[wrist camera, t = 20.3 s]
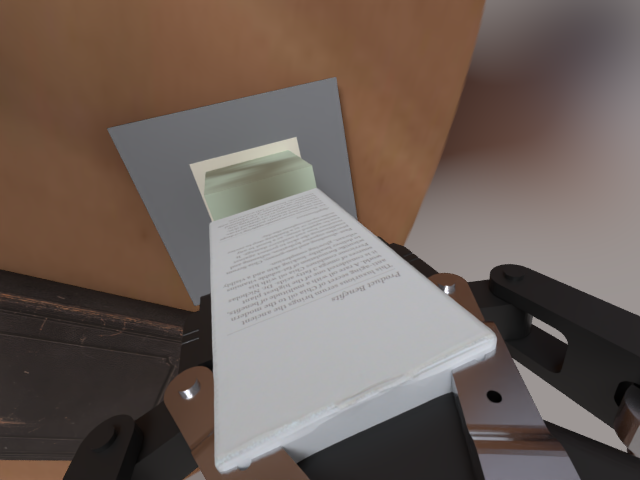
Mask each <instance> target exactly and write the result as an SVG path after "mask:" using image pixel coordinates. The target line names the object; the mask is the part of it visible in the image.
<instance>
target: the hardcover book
mask: <svg viewBox="0 0 640 480" xmlns="http://www.w3.org/2000/svg"><path fill="white" fill-rule="evenodd" d="M191 313H194V312H190V311H186V310H181V309H177V308H172V307H168V306H163V305H159V304H154V303H150V302H145V301H141V300H136V299H132V298H127V297H122V296H118V295H113V294H109V293H104V292H100V291H95V290H91V289H86V288H82V287H77V286H73V285H68V284H64V283H59V282H55V281H50V280H46V279H41V278H36V277H32V276H27V275H23V274H18V273H14V272H9V271H5V270H0V460H65V461H72V460H73V458H74V456H75V454H76V452H77V450H78V448H79V446H80V444H81V443H82V441H83V440H84V439H85V437H86V436H87V435H88V434H89V433H90V432H91V431H92V430H93V429H94V428H95V427H97V426H98V425H99V424H101V423H102V422H104V421H105V420H107V419H109V418H111V417H113V416H116V415H121V414H125V415H129V416H131V417H132V418H133V419H134V421H135V420H137V419H138V418H139V417H141V416H142V415H144V414H145V413H147V412H148V411H150V410H151V409H153V408H154V407H156V406H157V405H159V404H160V403H161V402H162V401H163V400H164V394H165V391H166V389H167V387H168V385H169V384H170V382H171V381H172V380H173V379H174V378H175V377H176V376H177V375H178V371H179V362H180V353H181V345H182V337H183V326H184V323H185V322H186V320H187V318H188V317H189V315H190V314H191Z"/></svg>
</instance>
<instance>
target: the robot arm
mask: <svg viewBox="0 0 640 480" xmlns="http://www.w3.org/2000/svg"><path fill="white" fill-rule="evenodd" d="M378 238H379V239H380V240H381V241H383V242H384V243H385V244H386V245H387V246H389V247H390V248H391V249H392V250H393V251H395V252H396V253H397V254H398V255H399V256H400V257H402V258H403V259H404V260H405V261H407V262H408V263H409V264H410V265H412V266H413V267H414V268H415V269H417V270H418V271H419V272H420V273H421V274H423V275H424V276H425V277H426V278H428V279H429V280H430V281H431V282H432V283H434V284H435V285H436V286H437V287H438V288H440V289H441V290H442V291H443V292H445V293H446V294H447V295H448V296H450V297H451V298H452V299H453V300H455V301H456V302H457V303H458V304H459V305H461V306H462V307H463V308H465V309H466V310H467V311H468V312H470V313H471V314H472V315H473V316H475V317H476V318H477V319H478V320H480V321H481V322H482V323H483V324H485V325H486V326H487V327H489V328H490V329H491V330H492V331H493V332H494V333H495V335H496V337H497V343H496V348H495V349H494V350H493V351H491V352H489V353H487V354H485V357H484V360H483V361H478V360H475V359H474V360H472V361H470V362H468V363H465V364H463V365H461V366H459V367H457V368H455V369H453V370H451V387H452V391H453V392H450V393H446V394H444V395H441V396H439V397H436V398H434V399H432V400H430V401H428V402H425V403H423V404H421V405H419V406H417V407H415V408H412V409H410V410H408V411H406V412H403V413H401V414H399V415H397V416H395V417H392V418H390V419H388V420H386V421H384V422H381V423H379V424H377V425H375V426H372V427H370V428H368V429H366V430H364V431H361V432H359V433H357V434H355V435H353V436H350V437H348V438H346V439H344V440H342V441H340V442H337V443H335V444H333V445H331V446H329V447H327V448H325V449H323V450H321V451H318V452H316V453H314V454H312V455H310V456H308V457H307V458H305V459H303V460H301V461H299V462H298V463H295V462H294V460H293V459H292V458H291V457H290V456H289V455H288V454H287V452H286V451H285V450H284V449H283V448H282V447H281V446H279V447H277V448H275V449H273V450H271V451H268V452H266V453H264V454H262V455H260V456H258V457H256V458H253V459H251V464H250V466H249V467H248V468H247V469H246V470H244V471H241V470H239V468H238V466H236V467H234V468H232V469H229V470H227V471H223V472H220V471H218V470H217V468H216V467H215V457H214V377H213V351H212V313H211V293H210V294H207V295H204V296H201V297H200V311H197V312H194V313H191V314H190V315H189V317H188V318H187V320H186V322H185V323H184V326H183V337H182V345H181V353H180V362H179V371H178V375H177V376H176V377H175V378H174V379H173V380H172V381H171V382H170V384H169V385H168V387H167V389H166V391H165V394H164V400H163V401H162V402H161V403H160V404H159V405H157V406H156V407H154V408H153V409H151V410H150V411H148V412H147V413H145V414H144V415H142V416H141V417H139V418H138V419H137V420H135V421H134V419H133V418H132V417H131V416H129V415H125V414H121V415H116V416H113V417H111V418H109V419H107V420H105V421H104V422H102V423H101V424H99V425H98V426H97V427H95V428H94V429H93V430H92V431H91V432H90V433H89V434H88V435H87V436H86V437H85V439H84V440H83V441H82V443H81V444H80V446H79V448H78V450H77V452H76V454H75V456H74V458H73V460H72V462H71V464H70V466H69V468H68V470H67V472H66V474H65V476H64V478H63V480H182V479H184V478H185V477H186V476H187V475H189V474H190V473H191V472H192V471H194V470H195V469H196V468H197V467H199V468H200V470H201V472H202V473H203V475H204V477H205V479H206V480H640V316H638V315H636V314H633V313H631V312H629V311H626V310H624V309H622V308H619V307H617V306H615V305H612V304H610V303H608V302H605V301H603V300H601V299H599V298H596V297H594V296H592V295H589V294H587V293H585V292H582V291H580V290H578V289H575V288H573V287H571V286H568V285H566V284H564V283H561V282H559V281H557V280H554V279H552V278H550V277H547V276H545V275H543V274H540V273H538V272H536V271H534V270H531V269H529V268H526V267H524V266H520V265H513V264H505V265H500V266H496V267H495V268H493V269H492V270H491V272H490V279H489V280H482V281H475V282H467V281H466V280H465V279H463V278H462V277H460V276H458V275H455V274H450V273H438V272H437V271H435V270H434V269H433V268H432V267H430V266H429V265H428V264H426V263H425V262H424V261H423V260H421V259H419V258H418V257H417V256H416V255H415V254H412V252H411V251H409V250H408V249H407V248H406V247H404V246H401V245H398V244H395V243H392V244H390V245H389V244H388V243H387V242H386V241H384V240H383V239H382V238H381V237H379V236H378ZM533 316H534V317H536V318H537V319H539V320H541V321H543V322H545V323H546V324H548V325H550V326H552V327H554V328H556V329H557V330H559V331H560V332H561V333H562V334H563V335H564V336H565V337H566V339H567V341H568V345H567V344H566V343H564V342H562V341H560V340H559V339H557V338H555V337H554V336H552V335H550V334H548V333H546V332H545V331H543V330H541V329H540V328H538V327H536V326H534V325H533V324H531V323H532V318H533ZM512 358H513V359H515V360H517V361H518V362H519V363H521V364H522V365H523V366H525V367H526V368H528V369H529V370H531V371H532V372H533V373H535V374H536V375H538V376H539V377H540V378H542V379H543V380H545V381H546V382H547V383H549V384H550V385H552V386H553V387H555V388H556V389H557V390H559V391H561V392H562V393H563V394H565V395H566V396H568V397H569V398H570V399H572V400H573V401H575V402H576V403H577V404H579V405H580V406H582V407H583V408H584V409H586V410H587V411H589V412H590V413H592V414H593V415H594V416H596V417H597V418H599V419H600V420H602V421H603V422H604V423H606V424H607V425H609V426H610V427H611V428H613V429H614V430H615V432H616V434H617V435H618V437H619V439H620V440H621V441H622V442H623V444H624V445H625V446H626V447H627V453H626V452H623V451H621V450H618V449H616V448H613V447H611V446H608V445H606V444H603V443H601V442H598V441H596V440H593V439H591V438H588V437H585V436H583V435H580V434H578V433H575V432H573V431H570V430H568V429H565V428H563V427H560V426H558V425H555V424H553V423H550V422H548V421H545V420H543V419H542V417H541V415H540V413H539V411H538V409H537V407H536V405H535V403H534V401H533V399H532V397H531V395H530V393H529V391H528V389H527V387H526V385H525V383H524V381H523V379H522V377H521V375H520V373H519V371H518V369H517V367H516V365H515V363H514V361H513V359H512Z"/></svg>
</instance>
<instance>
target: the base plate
mask: <svg viewBox="0 0 640 480" xmlns="http://www.w3.org/2000/svg"><path fill="white" fill-rule="evenodd" d="M107 129H108V132H109V134H110V136H111V138H112V140H113V142H114V144H115V146H116V148H117V150H118V152H119V154H120V156H121V158H122V160H123V162H124V164H125V166H126V168H127V170H128V172H129V174H130V176H131V178H132V180H133V182H134V184H135V186H136V188H137V190H138V192H139V194H140V196H141V198H142V200H143V202H144V204H145V206H146V208H147V210H148V212H149V214H150V216H151V218H152V220H153V223H154V225H155V227H156V229H157V231H158V233H159V235H160V237H161V239H162V241H163V243H164V245H165V247H166V249H167V251H168V253H169V255H170V257H171V259H172V261H173V263H174V265H175V267H176V269H177V271H178V273H179V275H180V277H181V279H182V281H183V283H184V285H185V287H186V289H187V291H188V293H189V295H190V297H191V299H192V301H193V303H194V305H195V306H196V305H199V304H200V297H201V296H204V295H207V294H210V293H211V281H210V238H209V224H210V223H211V222H213V221H214V220H213V217H212V215H211V212H210V210H209V207H208V205H207V202H206V200H205V197H204V189H205V174H206V172H208V171H211V170H215V169H219V168H223V167H226V166H230V165H234V164H238V163H241V162H245V161H249V160H253V159H256V158H260V157H264V156H268V155H271V154H275V153H279V152H283V151H286V150H289V151H291V152H292V153H294V154H295V155H297V156H299V157H300V158H302V159H303V160H305V161H306V162H308V163H309V164H311V165H312V168H313V172H314V177H315V182H316V187H317V188H318V189H320V190H321V191H322V192H323V193H325V194H326V195H327V196H328V197H330V198H331V199H332V200H333V201H334V202H336V203H337V204H338V205H339V206H340V207H342V208H343V209H344V210H345V211H346V212H348V213H349V214H350V215H351V216H353V217H354V218H355V219H356V220H357V214H356V207H355V200H354V194H353V187H352V180H351V174H350V167H349V160H348V154H347V147H346V140H345V134H344V127H343V120H342V114H341V107H340V100H339V94H338V87H337V80H336V77H334V78H329V79H324V80H320V81H315V82H311V83H307V84H302V85H298V86H293V87H289V88H284V89H280V90H275V91H271V92H266V93H262V94H258V95H253V96H249V97H244V98H240V99H235V100H231V101H226V102H222V103H217V104H213V105H208V106H204V107H200V108H195V109H191V110H186V111H182V112H177V113H173V114H168V115H164V116H159V117H155V118H151V119H146V120H142V121H137V122H133V123H128V124H124V125H119V126H115V127H111V128H107ZM357 221H358V220H357Z"/></svg>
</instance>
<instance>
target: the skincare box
mask: <svg viewBox="0 0 640 480" xmlns="http://www.w3.org/2000/svg"><path fill="white" fill-rule="evenodd" d="M209 238H210V281H211V313H212V351H213V377H214V457H215V467H216V468H217V470H218V471H220V472H223V471H227V470H229V469H232V468H234V467H236V466H238V468H239V470H241V471H244V470H246V469H247V468H248V467H249V466H250V464H251V459H253V458H256V457H258V456H260V455H262V454H264V453H266V452H268V451H271V450H273V449H275V448H277V447H279V446H281V447H282V448H283V449H284V450H285V451H286V452H287V454H288V455H289V456H290V457H291V458H292V459H293V460H294V462H295V463H298V462H299V461H301V460H303V459H305V458H307V457H308V456H310V455H312V454H314V453H316V452H318V451H321V450H323V449H325V448H327V447H329V446H331V445H333V444H335V443H337V442H340V441H342V440H344V439H346V438H348V437H350V436H353V435H355V434H357V433H359V432H361V431H364V430H366V429H368V428H370V427H372V426H375V425H377V424H379V423H381V422H384V421H386V420H388V419H390V418H392V417H395V416H397V415H399V414H401V413H403V412H406V411H408V410H410V409H412V408H415V407H417V406H419V405H421V404H423V403H425V402H428V401H430V400H432V399H434V398H436V397H439V396H441V395H444V394H446V393H450V392H453V391H452V387H451V370H453V369H455V368H457V367H459V366H461V365H463V364H465V363H468V362H470V361H472V360H474V359H475V360H478V361H483V360H484V357H485V354H487V353H489V352H491V351H493V350H494V349H495V348H496V343H497V337H496V335H495V333H494V332H493V331H492V330H491V329H490V328H489V327H487V326H486V325H485V324H483V323H482V322H481V321H480V320H478V319H477V318H476V317H475V316H473V315H472V314H471V313H470V312H468V311H467V310H466V309H465V308H463V307H462V306H461V305H459V304H458V303H457V302H456V301H455V300H453V299H452V298H451V297H450V296H448V295H447V294H446V293H445V292H443V291H442V290H441V289H440V288H438V287H437V286H436V285H435V284H434V283H432V282H431V281H430V280H429V279H428V278H426V277H425V276H424V275H423V274H421V273H420V272H419V271H418V270H417V269H415V268H414V267H413V266H412V265H410V264H409V263H408V262H407V261H405V260H404V259H403V258H402V257H400V256H399V255H398V254H397V253H396V252H395V251H393V250H392V249H391V248H390V247H389V246H387V245H386V244H385V243H384V242H383V241H381V240H380V239H379V238H378V237H377V236H375V235H374V234H373V233H372V232H370V231H369V230H368V229H367V228H366V227H364V226H363V225H362V224H361V223H360V222H358V221H357V220H356V219H355V218H354V217H353V216H351V215H350V214H349V213H348V212H346V211H345V210H344V209H343V208H342V207H340V206H339V205H338V204H337V203H336V202H334V201H333V200H332V199H331V198H330V197H328V196H327V195H326V194H325V193H323V192H322V191H321V190H320V189H318V188H314V189H311V190H308V191H305V192H302V193H299V194H296V195H293V196H289V197H286V198H283V199H280V200H277V201H274V202H271V203H268V204H265V205H262V206H259V207H256V208H253V209H250V210H247V211H244V212H241V213H238V214H235V215H232V216H229V217H225V218H222V219H219V220H216V221H213V222H211V223H210V224H209Z"/></svg>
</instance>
